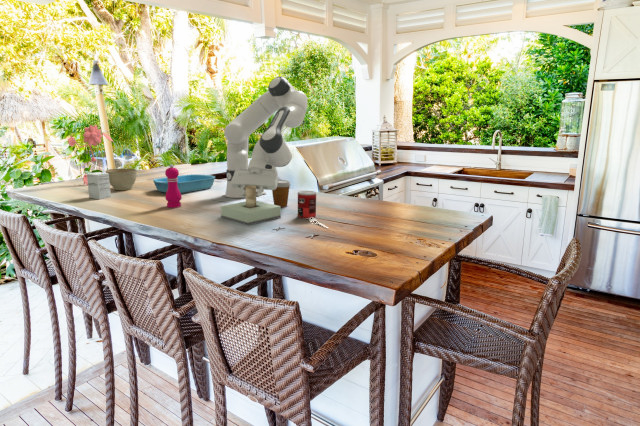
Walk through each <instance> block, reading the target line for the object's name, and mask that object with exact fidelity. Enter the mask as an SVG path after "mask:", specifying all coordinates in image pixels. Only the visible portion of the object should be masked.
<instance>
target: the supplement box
mask: <svg viewBox="0 0 640 426" xmlns="http://www.w3.org/2000/svg"><path fill="white" fill-rule="evenodd" d="M86 175H87V181H88V186H87V188H88V189H87V190H88V197H89V199H95V200H103V199H108V198H111V184H110V182H109V173H106V172H101V171H98V172H97V171H96V172H90V173H86Z"/></svg>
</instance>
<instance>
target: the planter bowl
mask: <svg viewBox="0 0 640 426" xmlns="http://www.w3.org/2000/svg"><path fill="white" fill-rule="evenodd" d="M137 172H138V170H137V169H136V168H110V169H109V168H108V169H106V170H105V173H109V182H110V186H112V188H113V190H115V191H126V190H127V191H128V190H133V189H132V188H133V185H134V184H135V182H136V180H137V177H138V176H137V175H138V174H137Z"/></svg>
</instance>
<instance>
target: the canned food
mask: <svg viewBox="0 0 640 426" xmlns="http://www.w3.org/2000/svg"><path fill="white" fill-rule="evenodd" d="M316 215H317V191H314V190H300V191H298V192H297V217H298V218H299V217H300V218H299V219H302V218H311V217H312V218H313V217H315V218H316ZM313 219H314V218H313Z"/></svg>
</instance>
